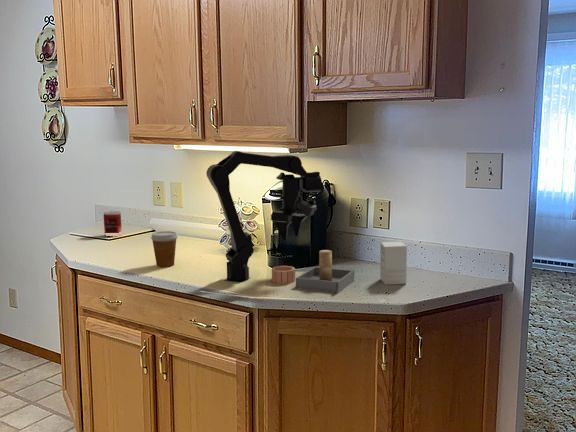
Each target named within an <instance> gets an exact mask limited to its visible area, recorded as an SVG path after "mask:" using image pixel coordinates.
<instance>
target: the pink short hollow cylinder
mask: <svg viewBox="0 0 576 432" xmlns="http://www.w3.org/2000/svg"><path fill="white" fill-rule="evenodd" d="M271 282H272V283H274V284H278V285H279V284H281V285H289V284H292V283H296V268H295V267H294V266H291V265H289V266H288V265H278V266H274V267H271Z"/></svg>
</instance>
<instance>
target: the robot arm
mask: <svg viewBox="0 0 576 432" xmlns="http://www.w3.org/2000/svg"><path fill="white" fill-rule="evenodd" d="M241 164H242V165H250V166H260V167H268V168H274V169H276V170H279V171H282V172H280V174H278V175H277V176H276V177H275V179H277V180H279V181H282V195H280V196H279V197H280V198H279V200H282V207H280V209H279V210H276V211H273V212H272V213H271V214H270V221H272V223H273V224H274V225H275V226H276V229H277V230H278V232H279V234H280V237H281V239H282V241H284V242H287V240H288V233H289V226H290V225H291V226H292V230H293V231H292V232H293V234H294V236H295V237H299V235H300V231H301V230H302V229H301V228H302V224H303V223H304V221H305V220H306V219H307V218H308V217H311V216H314V214H315V211H317V210H318V206H317V203H316V202H317V201H316V200H314V199H309V200H308V201H307V200H306V201H305V200H303V195H300V191H301V190H302V192H303V193H314V192H315V193H318V192H319V193H320V192H321V191H322V189H323V180H322V177H321V174H320V173H321V172H319V171H312V172H311V171H310V172H309V171H308V172H307V170H306V169H305V168H304V167H303V165H302V164H303V163H302V160H301V158H300V157H299V156H298V155H294V154H293V155H292V154H279V155H267V154H266V155H264V154H257V153H250V152H242V151H238V150H235V151H232V152H231V153H230V154H229V155H228V156H227V157H224V158H223V159H222V160H220V161H219V162H218V163H215V164H211V165H210V166H209V167H207V169H206V177H207V179H208V181H209V183H210V185H211V186H212V188H213V189H214V191H215V193H216V194H217V197H218V199H219V202H220V206H221V208H222V212H223V214H224V218H225V220H226V222H227V223H226V224H227V226H228V228H229V229H228V230H229V233H230V246H231V247H230V249H229V250H228V251H227V252H226V253H225V257H226V260H227V262H226V279H224V281H225V282H232V283H233V282H235V283H243V282H245V281H248V280H249V279H251V277H250V267H249V266H248V263H249V259H250V258H251V257H252V256H253V254H254V251H255V250H254V247H255V244H254V242H253V239H252V235H251V234H250V233H249V232H247V231H244V229H243V226H242V224H241V220H240V217H239V214H238V210H237V208H236V205H235V202H234V199H233V197H232V196H233V195H232V193H231V191H230V183H231V182H230V177H229V175H231V174H232V173H233V172H234V171H235V170H236V169H237V168H238V167H239V166H240V165H241ZM284 172H286V173H287V174H286V173H284ZM288 173H289V174H288ZM295 175H297V176H295Z"/></svg>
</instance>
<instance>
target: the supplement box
mask: <svg viewBox="0 0 576 432" xmlns="http://www.w3.org/2000/svg"><path fill="white" fill-rule="evenodd" d="M407 253H408V246H407V245H406V244H405V243H404V242H403V241H386V242H385V241H380V253H379V254H380V264H379V265H380V266H379V267H380V271H379V273H380V274H379V276H380V280H381V281H382V283H383V284H384V285H405V284H407V270H408V269H407V261H408V260H407V257H408V254H407Z"/></svg>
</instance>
